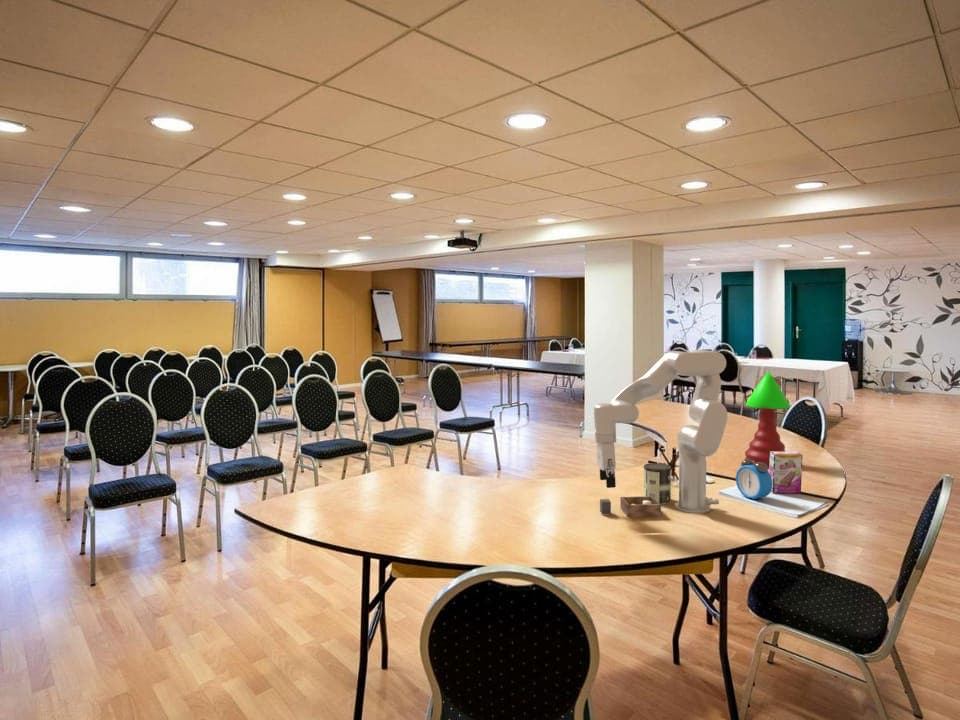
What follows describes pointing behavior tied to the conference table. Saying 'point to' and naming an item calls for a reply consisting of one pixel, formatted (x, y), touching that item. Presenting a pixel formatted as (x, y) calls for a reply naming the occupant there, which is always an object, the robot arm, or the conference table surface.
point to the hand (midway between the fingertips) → (607, 483)
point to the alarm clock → (753, 479)
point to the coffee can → (658, 482)
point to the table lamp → (766, 420)
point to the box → (640, 506)
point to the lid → (605, 506)
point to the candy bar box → (786, 472)
